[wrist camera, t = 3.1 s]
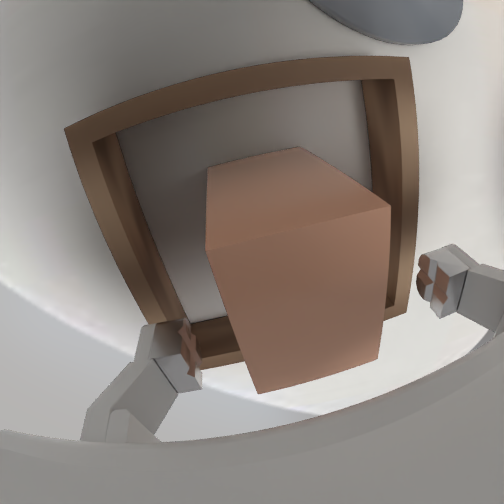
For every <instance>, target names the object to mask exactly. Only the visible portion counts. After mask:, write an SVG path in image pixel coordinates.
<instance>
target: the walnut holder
mask: <svg viewBox="0 0 504 504" xmlns="http://www.w3.org/2000/svg"><path fill="white" fill-rule="evenodd" d="M348 80H361V82H362V89H363V95H364V102H365V109H366V117H367V125H368V134H369V145H370V156H371V170H372V187H373V193H374V194H375V195H377V196H378V197H380V198H381V199H382V200H384V201H385V202H386V203H388V204H389V205H391V230H390V254H389V270H388V282H387V293H386V303H385V311H384V319H383V321H385V320H388V319H390V318H393V317H396V316H398V315H401V314H404V313H406V311H407V306H408V300H409V294H410V287H411V280H412V273H413V265H414V256H415V247H416V236H417V222H418V202H419V148H418V129H417V115H416V104H415V95H414V87H413V80H412V73H411V66H410V60H409V57H394V56H338V57H321V58H309V59H299V60H290V61H282V62H274V63H268V64H261V65H255V66H250V67H244V68H239V69H234V70H229V71H225V72H220V73H216V74H212V75H207V76H203V77H200V78H196V79H192V80H188V81H185V82H181V83H178V84H174V85H171V86H168V87H165V88H162V89H159V90H155V91H152V92H150V93H147V94H144V95H141V96H138V97H135V98H133V99H130V100H127V101H125V102H122V103H120V104H117V105H115V106H112V107H110V108H107V109H105V110H103V111H100V112H98V113H96V114H94V115H91V116H89V117H87V118H85V119H83V120H81V121H78V122H76V123H74V124H72V125H70V126H68V127H66V128H64V131H65V134H66V138H67V141H68V144H69V147H70V150H71V153H72V156H73V159H74V162H75V165H76V168H77V171H78V174H79V176H80V179H81V182H82V185H83V187H84V190H85V192H86V195H87V198H88V200H89V203H90V205H91V208H92V210H93V213H94V215H95V217H96V220H97V222H98V224H99V227H100V229H101V231H102V234H103V236H104V238H105V240H106V242H107V245H108V247H109V249H110V251H111V253H112V255H113V257H114V260H115V262H116V264H117V266H118V268H119V270H120V272H121V274H122V276H123V278H124V280H125V282H126V284H127V286H128V287H129V289H130V291H131V293H132V295H133V297H134V299H135V301H136V303H137V304H138V306H139V308H140V310H141V312H142V313H143V315H144V317H145V319H146V320H147V322H148V324H155V323H159V322H165V321H170V320H176V319H181V318H186V319H188V318H187V316H186V314H185V312H184V310H183V308H182V305H181V303H180V301H179V299H178V297H177V294H176V292H175V290H174V288H173V286H172V283H171V281H170V279H169V276H168V274H167V272H166V269H165V267H164V265H163V262H162V260H161V258H160V255H159V253H158V250H157V248H156V245H155V243H154V241H153V238H152V236H151V233H150V230H149V228H148V225H147V223H146V220H145V217H144V215H143V212H142V210H141V207H140V204H139V201H138V199H137V196H136V193H135V190H134V187H133V185H132V182H131V179H130V176H129V173H128V170H127V167H126V164H125V161H124V158H123V155H122V152H121V149H120V145H119V142H118V139H117V136H116V132H119V131H121V130H124V129H126V128H129V127H132V126H135V125H137V124H140V123H143V122H146V121H149V120H152V119H155V118H158V117H161V116H164V115H167V114H170V113H174V112H177V111H180V110H184V109H187V108H191V107H194V106H198V105H202V104H206V103H210V102H214V101H218V100H222V99H226V98H231V97H235V96H240V95H245V94H250V93H255V92H260V91H266V90H271V89H277V88H284V87H290V86H298V85H305V84H314V83H323V82H334V81H348ZM188 321H189V320H188ZM189 323H190V322H189ZM190 325H191V333H192V334H193V335H195V336H196V337H197V339H198V342H199V345H200V348H201V353H202V363H201V365H200V366H199V368H200V370H204V369H209V368H214V367H219V366H224V365H229V364H234V363H239V362H243V361H245V360H244V358H243V355H242V352H241V350H240V347H239V344H238V342H237V339H236V336H235V334H234V331H233V328H232V326H231V323H230V320H229V317H228V316H226V317H221V318H217V319H212V320H208V321H203V322H199V323H194V324H190Z"/></svg>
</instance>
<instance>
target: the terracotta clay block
mask: <svg viewBox="0 0 504 504" xmlns="http://www.w3.org/2000/svg"><path fill="white" fill-rule="evenodd" d="M390 230H391V205H389V204H388V203H386V202H385V201H384V200H382V199H381V198H380V197H378V196H377V195H375V194H374V193H372V192H371V191H370V190H368V189H367V188H365V187H364V186H362V185H361V184H359V183H358V182H356V181H355V180H353V179H352V178H350V177H349V176H347V175H346V174H344V173H343V172H341V171H340V170H338V169H336V168H335V167H333V166H332V165H330V164H329V163H327V162H325V161H324V160H322V159H320V158H319V157H317V156H316V155H314V154H312V153H311V152H309V151H307V150H306V149H304V148H302V147H295V148H289V149H284V150H280V151H275V152H270V153H265V154H261V155H256V156H252V157H248V158H243V159H239V160H235V161H231V162H227V163H223V164H219V165H215V166H211V167H208V175H207V201H206V239H205V252H206V254H207V257H208V260H209V263H210V266H211V269H212V272H213V275H214V278H215V281H216V284H217V287H218V289H219V292H220V295H221V298H222V301H223V304H224V306H225V309H226V312H227V315H228V317H229V320H230V323H231V326H232V328H233V331H234V334H235V336H236V339H237V342H238V344H239V347H240V350H241V352H242V355H243V358H244V360H245V363H246V365H247V368H248V371H249V373H250V376H251V378H252V381H253V383H254V386H255V388H256V391H257V393H258V394H262V393H266V392H270V391H275V390H279V389H283V388H287V387H291V386H295V385H298V384H302V383H306V382H309V381H313V380H316V379H319V378H323V377H326V376H329V375H333V374H336V373H339V372H342V371H345V370H348V369H351V368H354V367H357V366H360V365H363V364H365V363H368V362H371V361H374V360H376V359H378V353H379V347H380V340H381V334H382V327H383V319H384V311H385V303H386V293H387V282H388V270H389V254H390Z"/></svg>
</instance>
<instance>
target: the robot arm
mask: <svg viewBox="0 0 504 504" xmlns="http://www.w3.org/2000/svg"><path fill="white" fill-rule="evenodd" d="M418 266H419V267H420V269H421V270H420V271H419V273H418V274H417V280H416V285H417V290H418V292H419V294H420V296H421V297H422V298H423V299H424V300H426V301H429V302H430V308H431V309H432V310H433V311H434V313H435V314H436V315H437V316H438V317H439V319H440V318H443V317H445V316H447V315H450V314H452V313H454V312H457V313H459V314H461V315H463V316H465V317H467V318H468V319H470V320H472V321H474V322H476V323H478V324H480V325H482V326H483V327H485V328H487V329H489V330H491V331H493V332H494V333H495V334H494V336H493V338H492V340H490V341H488V342H487V343H485V344H483V345H482V346H480V347H478V348H477V349H475V350H473V351H472V352H470V353H468V354H466V355H465V356H463V357H461V358H459V359H457V360H456V361H454V362H452V363H450V364H448V365H446V366H444V367H442V368H440V369H439V370H437V371H435V372H432V373H430V374H428V375H426V376H424V377H422V378H420V379H418V380H416V381H413V382H411V383H409V384H407V385H404V386H402V387H400V388H397V389H395V390H393V391H390V392H388V393H385V394H383V395H380V396H378V397H375V398H372V399H370V400H367V401H364V402H361V403H359V404H356V405H353V406H350V407H347V408H344V409H341V410H338V411H334V412H331V413H328V414H325V415H321V416H318V417H314V418H310V419H307V420H303V421H299V422H295V423H292V424H287V425H283V426H278V427H274V428H269V429H264V430H259V431H254V432H248V433H243V434H236V435H230V436H223V437H216V438H208V439H199V440H189V441H175V442H161V441H160V440H159V439H158V438H156V437H155V436H154V434H155V433H156V431H157V429H158V428H159V426H160V424H161V423H162V421H163V419H164V418H165V416H166V414H167V413H168V410H169V409H170V408H171V406H172V404H173V403H174V401H175V399H176V398H177V396H178V394H177V393H183V392H189V391H194V390H201V389H202V372H201V370H200V368H199V366H200V365H201V363H202V353H201V348H200V345H199V342H198V339H197V337H196V336H195V335H193V334H192V333H191V325H190V323H189V321H188V319H186V318H181V319H176V320H170V321H165V322H159V323H155V324H149V325H144V326H143V327H142V328H141V332H140V336H139V340H138V344H137V349H136V353H135V358H134V362H130V363H129V364H128V365H127V366H126V367H125V368H124V369H123V370H122V372H121V373H120V374H119V375H118V376H117V377H116V378H115V379H114V380H113V381H112V382H111V384H110V385H109V386H108V387H107V388H106V389H105V390H104V391H103V392H102V394H100V396H99V397H98V398H97V399H96V400H95V401H94V402H93V403H92V405H91V406H90V407H89V408H88V409H87V412H86V417H85V421H84V425H83V429H82V434H81V438H80V441H75V440H64V439H57V438H49V437H43V436H36V435H30V434H25V433H20V432H16V431H11V430H1V431H0V504H504V270H501V269H498V268H495V267H491V266H488V265H485V264H481V265H479V264H478V263H477V262H476V261H475V260H474V259H472V258H471V257H470V256H469V255H468V254H466V253H465V252H464V251H463V250H461V249H460V248H459V247H458V246H456V245H454V244H450V245H447V246H444V247H442V248H440V249H437V250H434V251H431V252H428V253H425V254H422V255H421V256H420V258H419V263H418Z"/></svg>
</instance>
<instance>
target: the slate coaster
mask: <svg viewBox="0 0 504 504" xmlns="http://www.w3.org/2000/svg"><path fill="white" fill-rule="evenodd" d="M309 1H310V2H312V3H313V4H314V5H316V6H317V7H318V8H319V9H321V10H322V11H323V12H325V13H326V14H328V15H329V16H331V17H332V18H334V19H335V20H337V21H338V22H340V23H342V24H344V25H346V26H347V27H349V28H351V29H353V30H355V31H357V32H359V33H362V34H364V35H366V36H369V37H372V38H374V39H377V40H381V41H385V42H388V43H394V44H400V45H416V44H425V43H432V42H435V41H438V40H441V39H442V38H444V37H446V36H447V35H449V34H450V33H451V32H452V31H453V30H454V28H455V27H456V26H457V24H458V22H459V20H460V17H461V14H462V9H463V0H309Z"/></svg>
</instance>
